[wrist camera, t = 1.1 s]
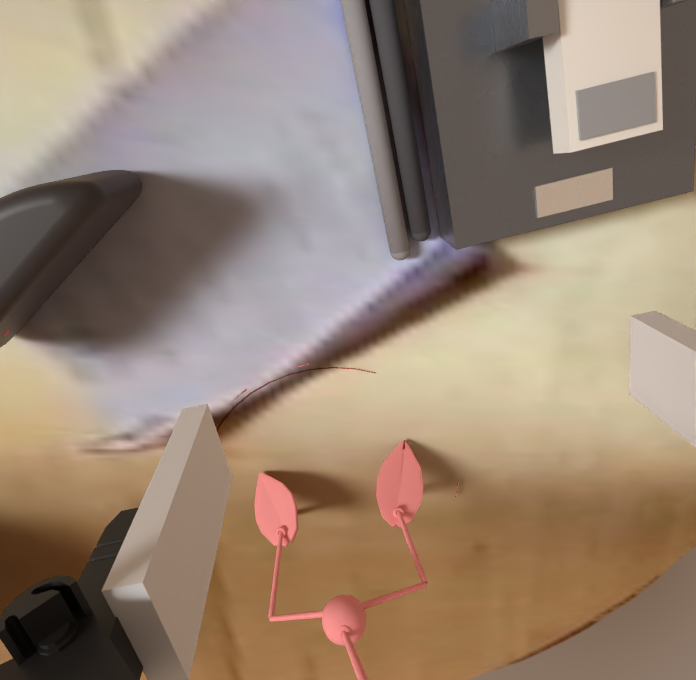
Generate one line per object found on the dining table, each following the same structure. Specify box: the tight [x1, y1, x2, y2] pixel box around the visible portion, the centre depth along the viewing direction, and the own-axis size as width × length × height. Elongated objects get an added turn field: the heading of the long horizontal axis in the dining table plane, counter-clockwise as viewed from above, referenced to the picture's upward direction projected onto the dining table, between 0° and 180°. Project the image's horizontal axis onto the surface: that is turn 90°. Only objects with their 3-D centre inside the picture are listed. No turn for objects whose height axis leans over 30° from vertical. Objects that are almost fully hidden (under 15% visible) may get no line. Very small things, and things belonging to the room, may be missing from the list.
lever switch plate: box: [404, 0, 696, 250], centre depth 28 cm, size 24×16×9 cm, turn 13°
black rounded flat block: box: [0, 170, 142, 347], centre depth 31 cm, size 16×5×9 cm, turn 133°
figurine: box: [216, 364, 459, 680], centre depth 27 cm, size 15×26×35 cm, turn 98°
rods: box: [340, 0, 431, 260], centre depth 32 cm, size 24×22×1 cm
